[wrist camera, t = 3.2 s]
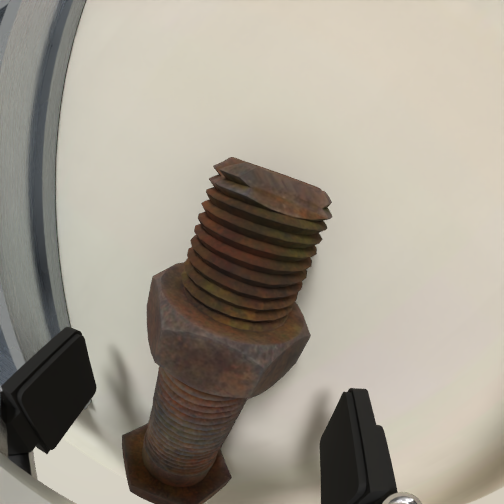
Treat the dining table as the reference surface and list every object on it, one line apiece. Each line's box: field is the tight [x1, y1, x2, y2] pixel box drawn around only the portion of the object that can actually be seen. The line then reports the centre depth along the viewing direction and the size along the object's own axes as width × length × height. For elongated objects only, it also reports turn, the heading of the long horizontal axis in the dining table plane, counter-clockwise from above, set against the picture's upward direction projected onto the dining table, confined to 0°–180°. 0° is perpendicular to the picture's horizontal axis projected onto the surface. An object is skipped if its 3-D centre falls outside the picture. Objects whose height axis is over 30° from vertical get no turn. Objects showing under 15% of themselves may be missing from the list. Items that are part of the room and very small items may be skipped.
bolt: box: [122, 157, 332, 504], centre depth 9 cm, size 6×5×15 cm
